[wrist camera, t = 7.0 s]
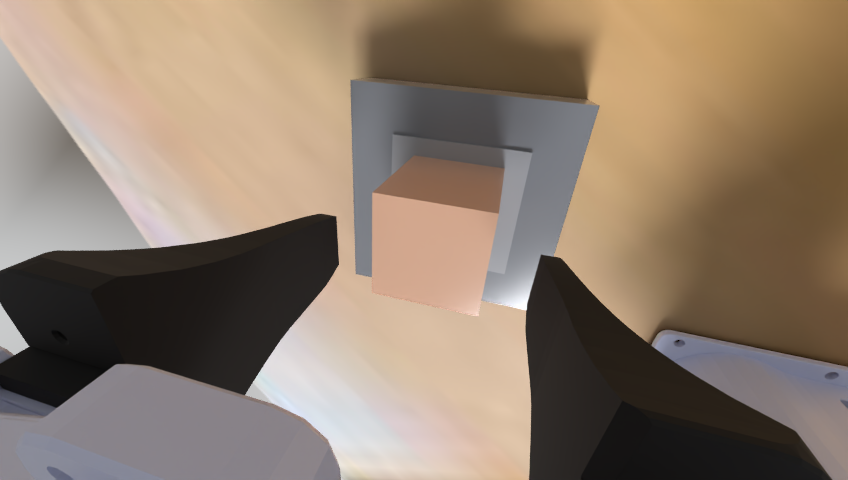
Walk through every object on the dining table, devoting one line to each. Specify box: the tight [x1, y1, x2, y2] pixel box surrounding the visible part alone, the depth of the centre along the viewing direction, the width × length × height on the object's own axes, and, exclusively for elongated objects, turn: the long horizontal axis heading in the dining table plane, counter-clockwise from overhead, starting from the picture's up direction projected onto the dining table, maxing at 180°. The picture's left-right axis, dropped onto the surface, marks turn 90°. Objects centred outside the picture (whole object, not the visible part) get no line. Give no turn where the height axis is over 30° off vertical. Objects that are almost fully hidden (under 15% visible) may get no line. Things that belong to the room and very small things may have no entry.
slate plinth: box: [351, 78, 599, 310], centre depth 17 cm, size 10×10×3 cm
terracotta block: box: [372, 155, 505, 316], centre depth 13 cm, size 4×4×5 cm
